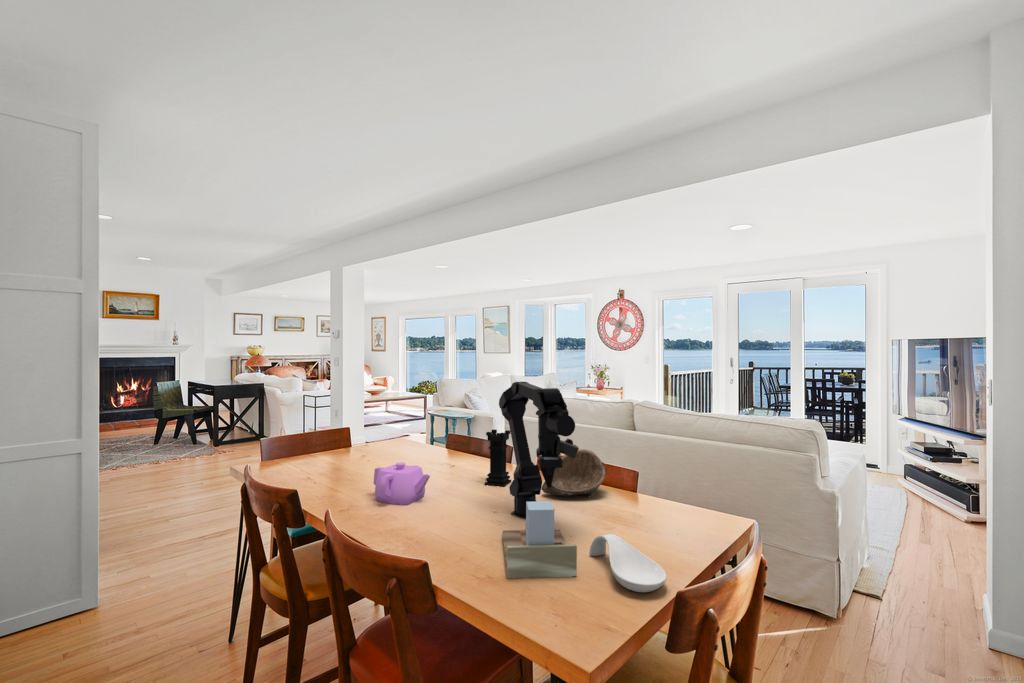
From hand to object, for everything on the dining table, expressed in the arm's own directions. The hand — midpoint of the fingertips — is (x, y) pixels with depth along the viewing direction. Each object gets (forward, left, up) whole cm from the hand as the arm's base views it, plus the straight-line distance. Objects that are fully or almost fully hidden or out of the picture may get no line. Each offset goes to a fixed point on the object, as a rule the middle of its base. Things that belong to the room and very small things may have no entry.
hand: (549, 486), depth 143 cm
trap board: (+7, -15, -13) cm, 21 cm away
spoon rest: (+29, -10, -13) cm, 33 cm away
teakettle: (-56, -9, -13) cm, 59 cm away
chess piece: (-44, +27, -13) cm, 53 cm away
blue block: (+13, -20, -11) cm, 26 cm away
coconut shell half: (-13, +35, -13) cm, 39 cm away
